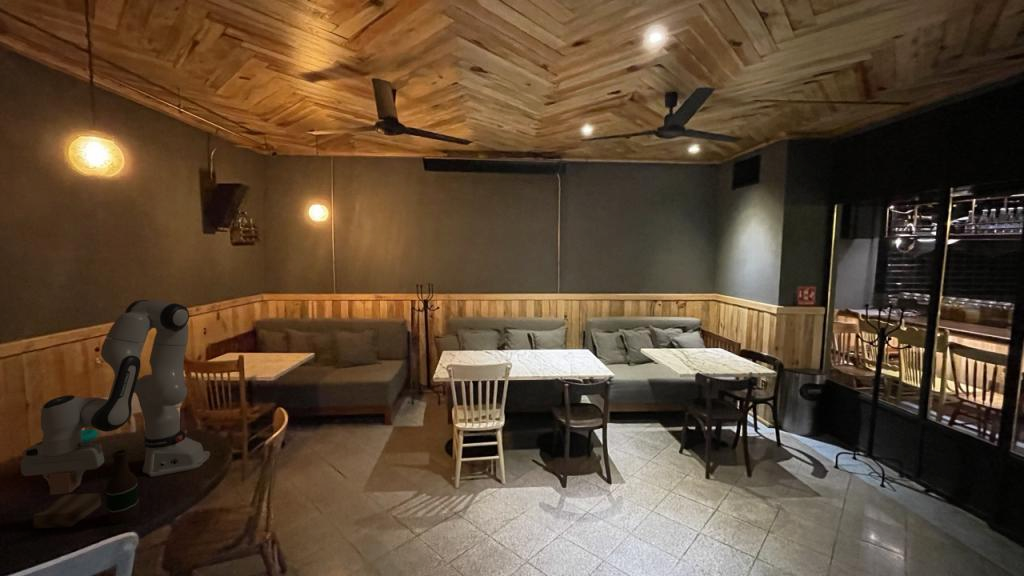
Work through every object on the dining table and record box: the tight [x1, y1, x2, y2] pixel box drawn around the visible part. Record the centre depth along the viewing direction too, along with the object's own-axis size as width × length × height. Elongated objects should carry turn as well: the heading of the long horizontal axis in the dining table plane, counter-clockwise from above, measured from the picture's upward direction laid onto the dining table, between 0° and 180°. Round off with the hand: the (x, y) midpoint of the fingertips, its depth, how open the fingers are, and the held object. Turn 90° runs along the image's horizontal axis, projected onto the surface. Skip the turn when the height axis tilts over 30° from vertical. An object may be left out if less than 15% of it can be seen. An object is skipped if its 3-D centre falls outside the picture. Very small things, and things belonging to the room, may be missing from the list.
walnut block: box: [32, 492, 102, 529], centre depth 137 cm, size 11×11×5 cm
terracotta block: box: [49, 471, 81, 496], centre depth 135 cm, size 5×5×7 cm
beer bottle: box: [105, 449, 140, 525], centre depth 136 cm, size 8×8×24 cm
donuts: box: [81, 428, 99, 445], centre depth 175 cm, size 10×10×10 cm
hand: (65, 483), depth 135 cm, fingers closed on terracotta block, 5 cm apart
